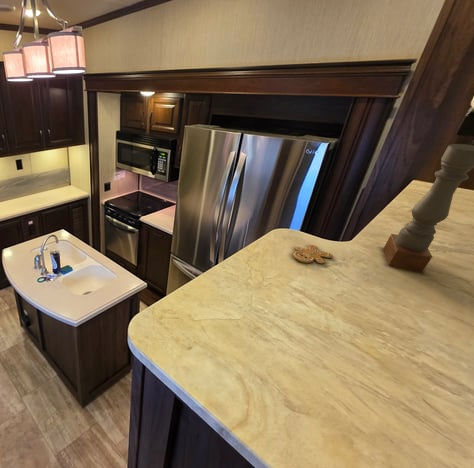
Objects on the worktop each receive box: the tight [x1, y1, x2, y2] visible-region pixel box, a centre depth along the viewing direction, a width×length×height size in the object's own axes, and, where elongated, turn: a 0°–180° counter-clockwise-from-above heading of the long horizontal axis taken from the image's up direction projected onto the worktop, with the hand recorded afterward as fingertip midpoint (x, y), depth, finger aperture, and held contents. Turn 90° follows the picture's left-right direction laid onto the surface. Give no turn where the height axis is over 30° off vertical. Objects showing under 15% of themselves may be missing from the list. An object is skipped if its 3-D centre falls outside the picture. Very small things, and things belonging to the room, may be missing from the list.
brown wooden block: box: [383, 233, 433, 274], centre depth 76 cm, size 6×9×5 cm
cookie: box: [292, 244, 334, 264], centre depth 80 cm, size 8×1×10 cm
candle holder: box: [395, 143, 474, 251], centre depth 68 cm, size 6×6×25 cm
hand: (473, 140), depth 61 cm, fingers open, 9 cm apart
